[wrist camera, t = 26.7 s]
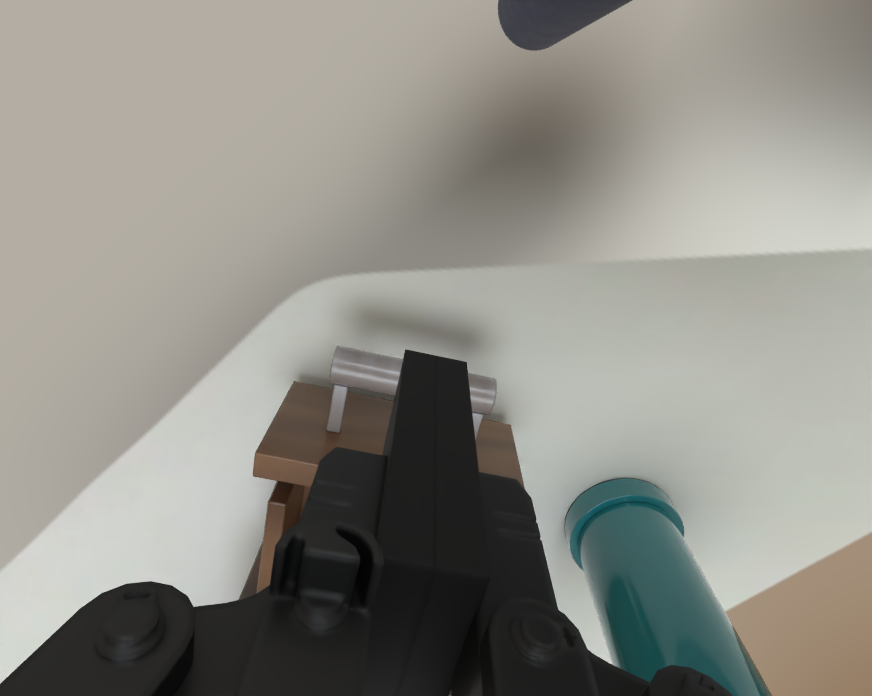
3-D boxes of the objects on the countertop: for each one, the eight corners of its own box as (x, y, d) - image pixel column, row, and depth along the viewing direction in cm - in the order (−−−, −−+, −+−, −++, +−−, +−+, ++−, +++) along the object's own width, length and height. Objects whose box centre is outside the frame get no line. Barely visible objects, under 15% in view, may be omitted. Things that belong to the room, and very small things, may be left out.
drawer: (303, 307, 26) (264, 364, 20) (533, 356, 27) (558, 424, 21) (264, 598, 34) (227, 699, 28) (443, 628, 35) (444, 732, 29)
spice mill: (585, 468, 31) (790, 983, 13) (691, 489, 31) (1034, 1012, 13) (550, 553, 33) (680, 1082, 15) (649, 571, 34) (889, 1103, 16)
